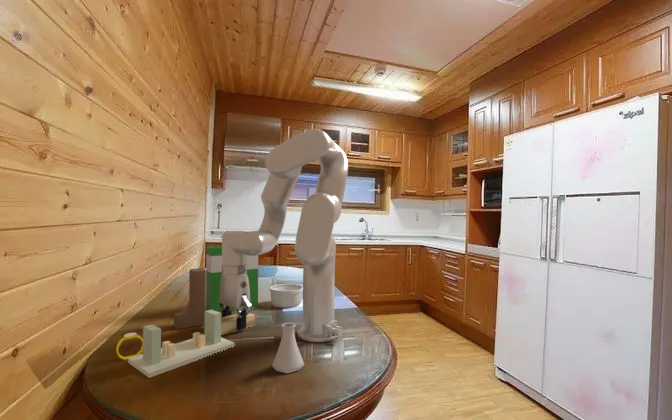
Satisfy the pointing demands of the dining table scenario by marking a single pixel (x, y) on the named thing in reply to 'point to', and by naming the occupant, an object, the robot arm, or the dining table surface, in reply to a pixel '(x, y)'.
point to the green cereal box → (216, 273)
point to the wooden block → (193, 302)
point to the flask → (288, 351)
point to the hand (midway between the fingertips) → (233, 326)
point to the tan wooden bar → (230, 323)
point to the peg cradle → (179, 347)
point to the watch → (129, 336)
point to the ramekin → (286, 295)
